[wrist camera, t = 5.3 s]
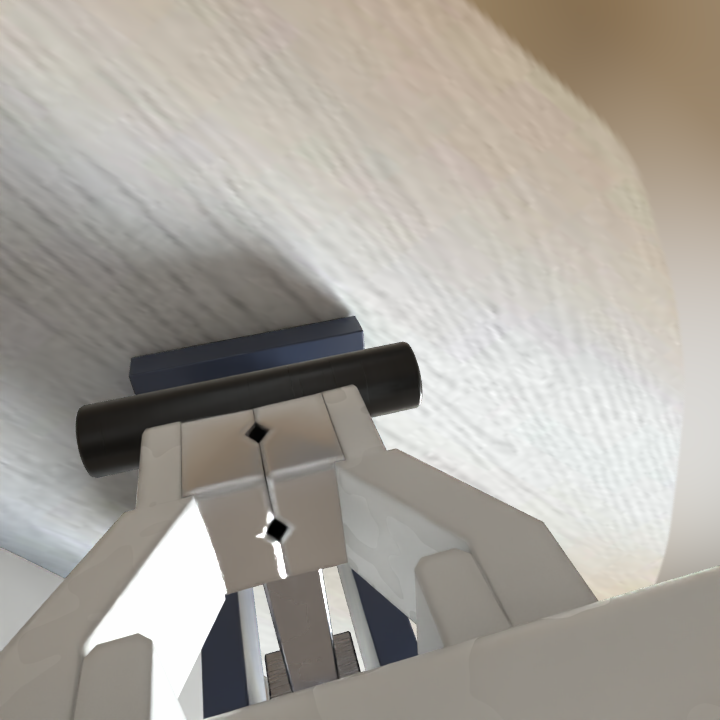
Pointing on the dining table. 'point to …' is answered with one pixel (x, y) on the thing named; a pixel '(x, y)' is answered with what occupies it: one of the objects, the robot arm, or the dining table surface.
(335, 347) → the bracket
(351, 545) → the robot arm
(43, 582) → the toaster
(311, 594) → the lever
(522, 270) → the dining table surface
